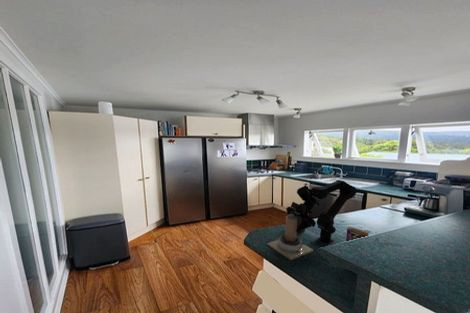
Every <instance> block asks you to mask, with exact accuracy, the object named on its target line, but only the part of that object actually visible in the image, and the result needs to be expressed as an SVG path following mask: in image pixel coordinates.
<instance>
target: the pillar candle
mask: <svg viewBox="0 0 470 313" xmlns="http://www.w3.org/2000/svg"><path fill="white" fill-rule="evenodd" d="M292 208H293V207H292ZM294 210H295V209H294ZM295 211H296V210H295ZM296 212H297V211H296ZM296 217H297V228H298V226H299V225H300V224H301V222H302V218H300V217H298V216H296ZM304 232H306V229H303V230H301V231H299V232H298V233H304Z"/></svg>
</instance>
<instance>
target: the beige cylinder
mask: <svg viewBox="0 0 470 313" xmlns="http://www.w3.org/2000/svg"><path fill="white" fill-rule="evenodd" d="M287 215H288V214H287ZM287 215H286V216H285V222H286V225H285V224H284V225H285V227H284V228H285V229H284V235H285V241H288V242H296V237H297V234H298V232H296V229H297V217H296V216H295V215H291V214H289V215H288V216H287Z"/></svg>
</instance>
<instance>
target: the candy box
mask: <svg viewBox="0 0 470 313" xmlns="http://www.w3.org/2000/svg"><path fill="white" fill-rule="evenodd" d="M369 234H370V233H369V231H366V230H362V229H359V228H356V227H355V228H354V227H352V226H348V227H347V228H346V238H345V242H346V241H349V240H353V239H357V238H361V237H365V236H368V237H369Z"/></svg>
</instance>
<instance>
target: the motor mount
mask: <svg viewBox="0 0 470 313" xmlns="http://www.w3.org/2000/svg"><path fill="white" fill-rule="evenodd" d="M267 246H269V247H270V248H271V249H273V250H274V251H276V252H277V253H279V254H280V255H282V256H284V258H286V259H288V260H289V261H293V260H295V259H299V258H300V257H302V256H305V255H308V254H310V253H312V252H314V249H313V248H311V247H309V246H307V245H306V244H304V243H303V240H301V238H299V237H298V236H296V242H288V241H285V234H283V235H280V236H279V237H278V238H277V240H276V239H275V240H273V241H270V242H268V243H267Z"/></svg>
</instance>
